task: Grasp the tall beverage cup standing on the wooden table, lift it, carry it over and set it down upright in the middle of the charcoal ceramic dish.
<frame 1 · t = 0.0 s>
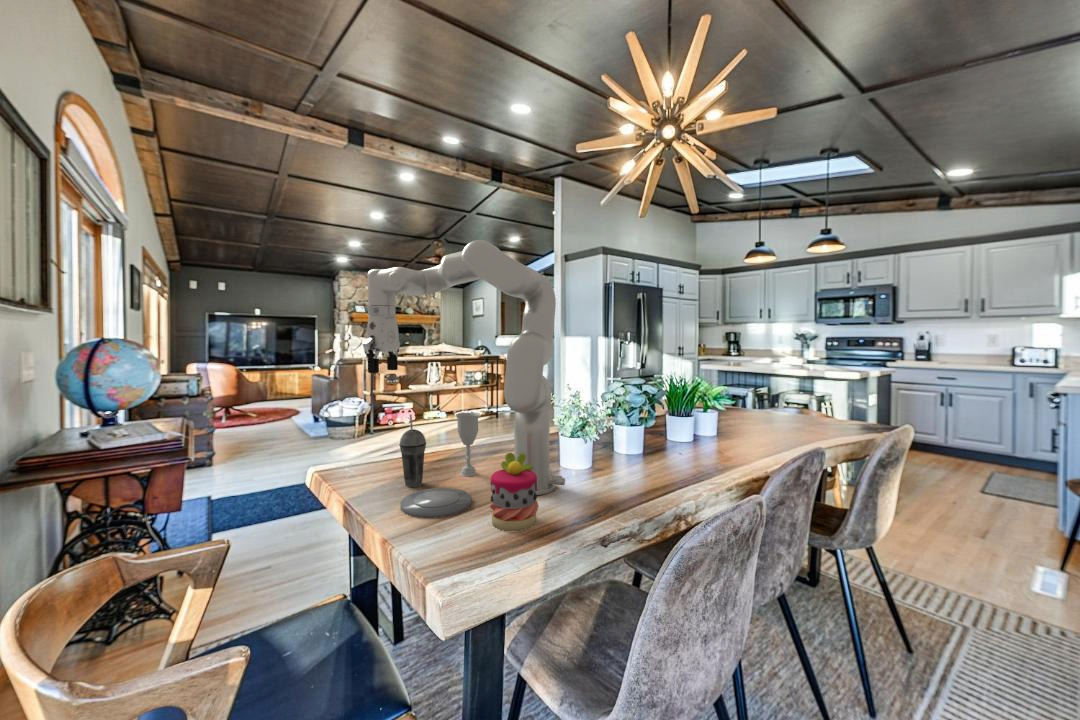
hand: (383, 371, 135), 31 cm above the table, tool pointing down, fingers open, 9 cm apart
dish: (436, 504, 115), on the table
beverage cup: (413, 485, 130), on the table
chalice: (468, 474, 139), on the table
cake: (514, 523, 104), on the table
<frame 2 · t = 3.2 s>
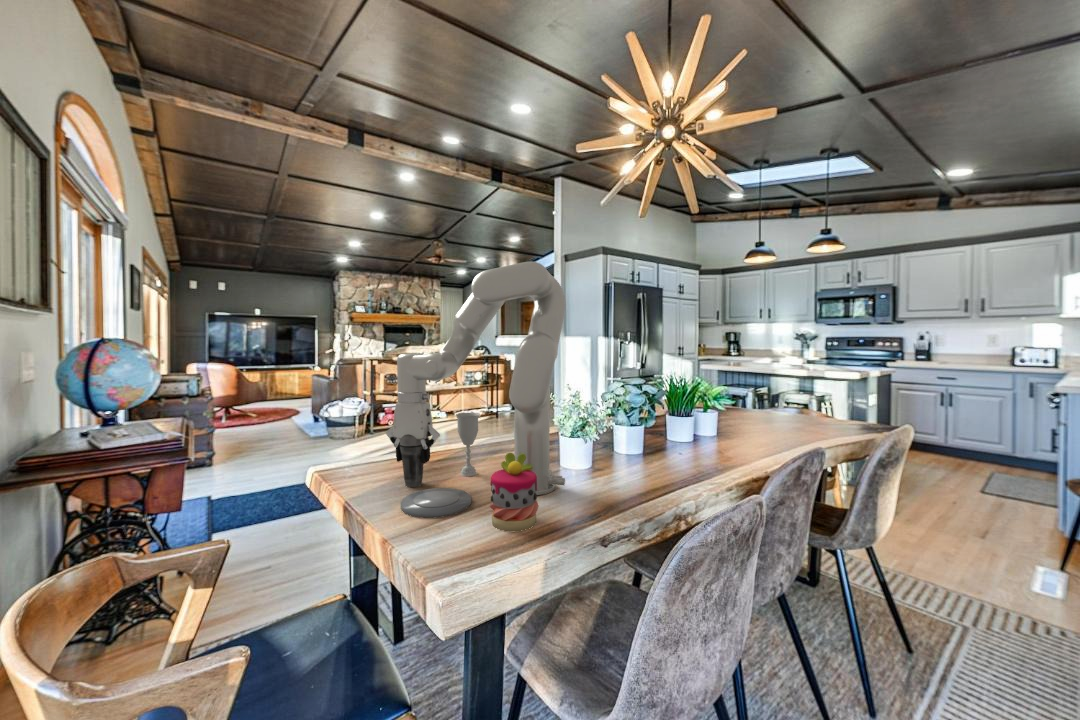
hand: (413, 460, 129), 7 cm above the table, tool pointing down, fingers closed on beverage cup, 7 cm apart
beverage cup: (413, 485, 130), on the table, touching gripper
everything else where it was.
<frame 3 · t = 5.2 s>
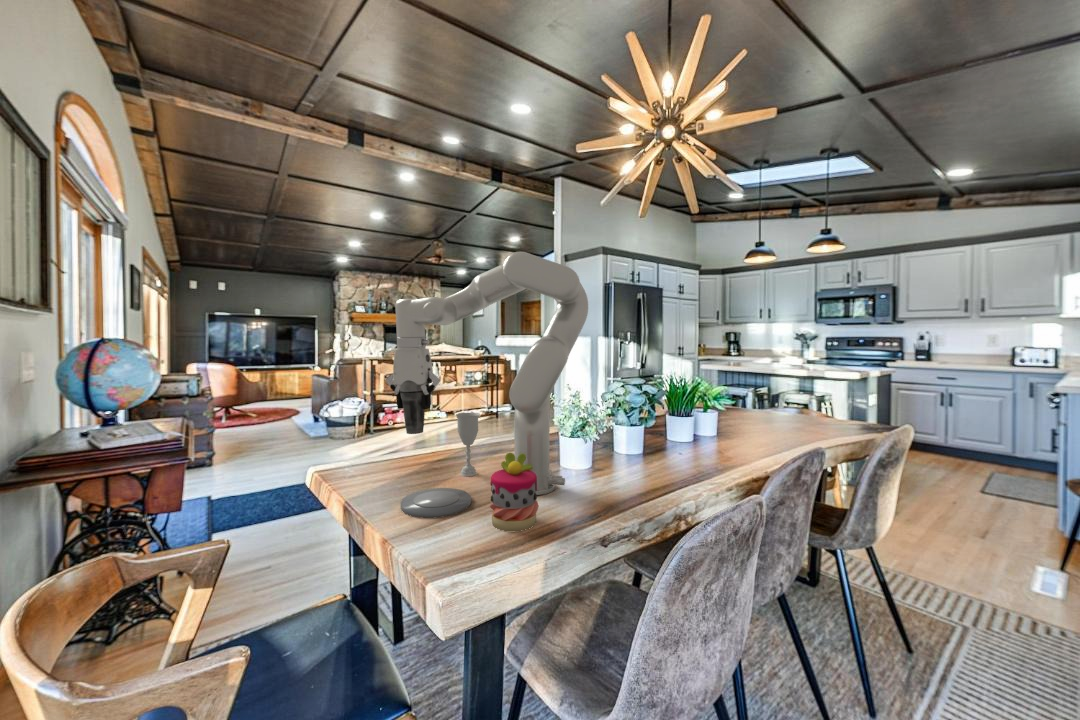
hand: (414, 407, 128), 22 cm above the table, tool pointing down, fingers closed on beverage cup, 7 cm apart
beverage cup: (415, 433, 129), point 15 cm above the table, touching gripper
everything else where it was.
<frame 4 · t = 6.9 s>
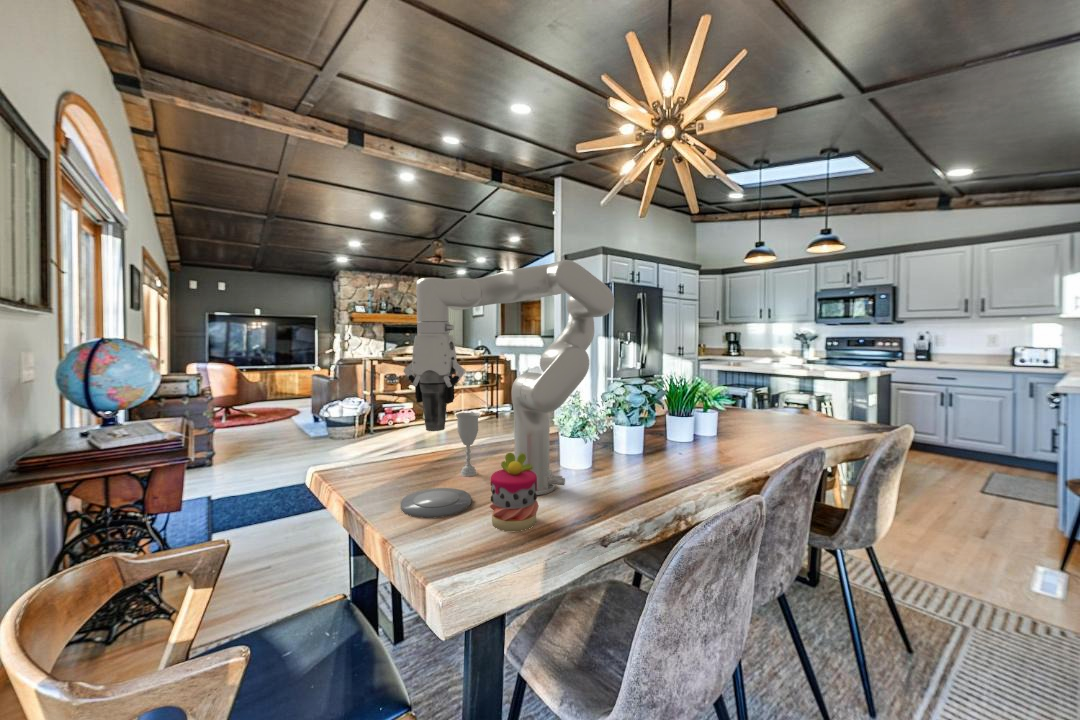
hand: (434, 401, 114), 26 cm above the table, tool pointing down, fingers closed on beverage cup, 7 cm apart
beverage cup: (435, 430, 114), point 19 cm above the table, touching gripper
everything else where it was.
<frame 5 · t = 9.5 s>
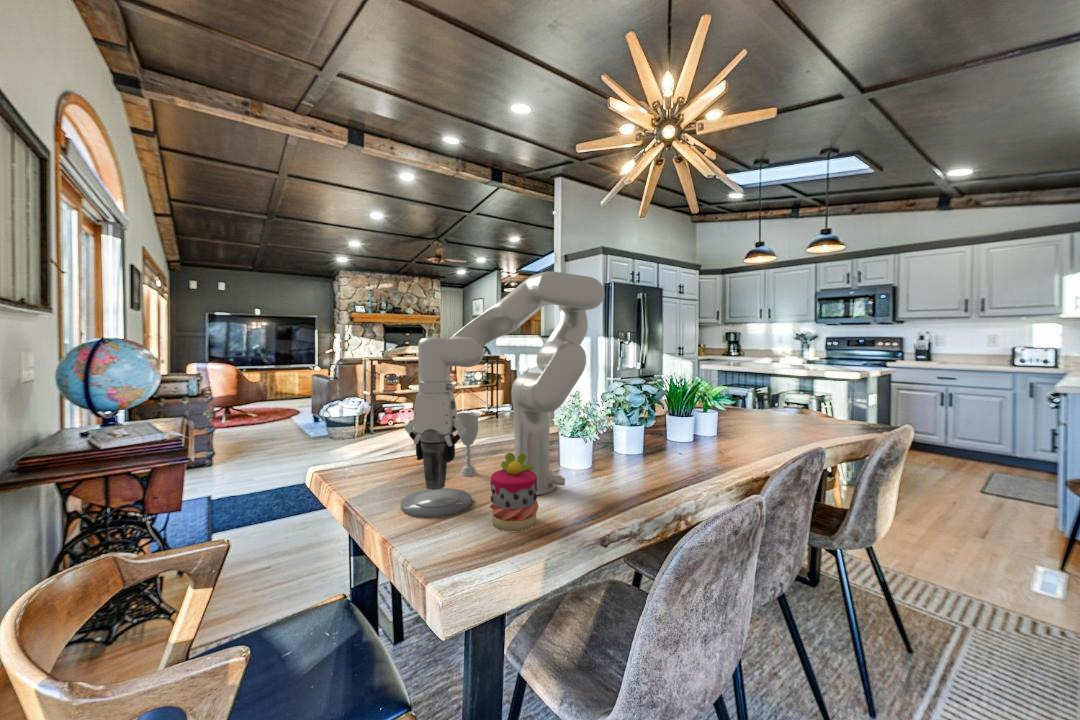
hand: (435, 459, 114), 11 cm above the table, tool pointing down, fingers closed on beverage cup, 7 cm apart
beverage cup: (435, 487, 114), point 4 cm above the table, touching gripper
everything else where it was.
when the fingers open (10 cm above the table, at t = 10.6 s): beverage cup drops 1 cm, resting on dish.
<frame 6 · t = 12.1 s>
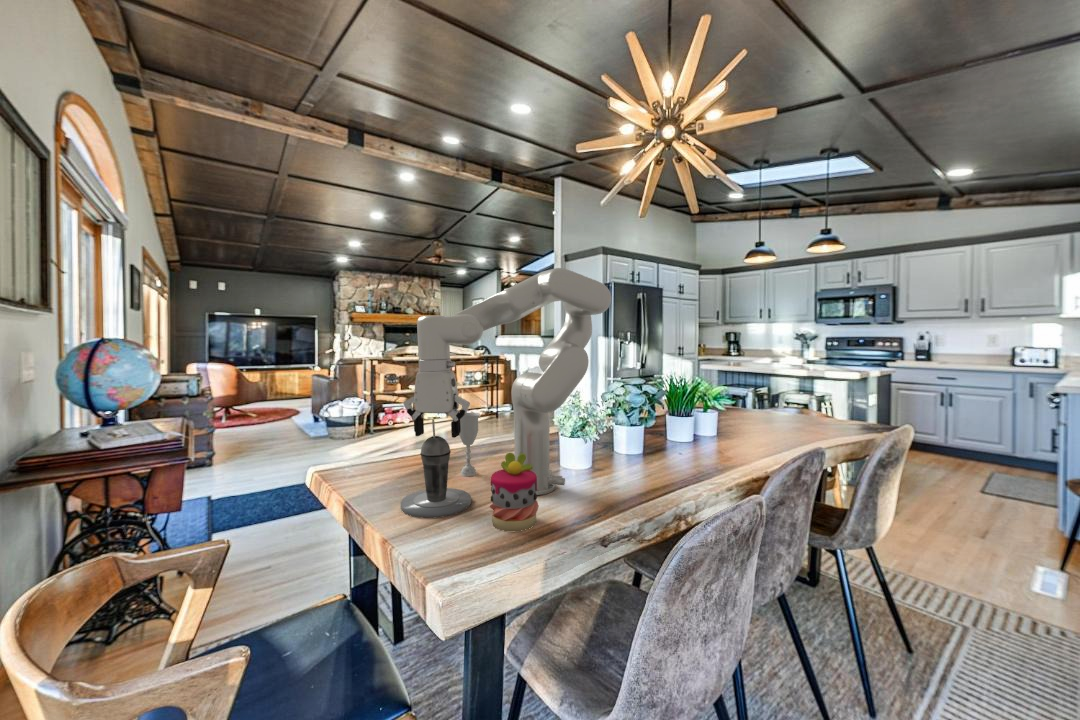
hand: (437, 435, 114), 17 cm above the table, tool pointing down, fingers open, 9 cm apart
beverage cup: (436, 499, 114), point 1 cm above the table, touching dish
everything else where it was.
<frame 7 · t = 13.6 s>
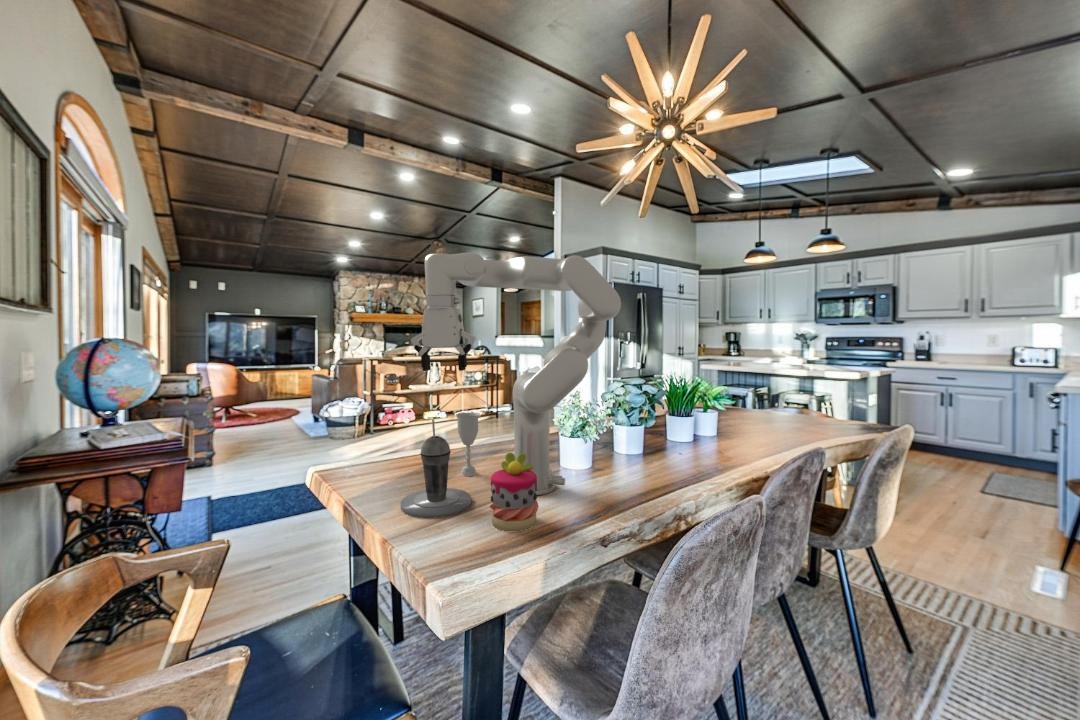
hand: (444, 370, 119), 33 cm above the table, tool pointing down, fingers open, 9 cm apart
nothing on the table moved.
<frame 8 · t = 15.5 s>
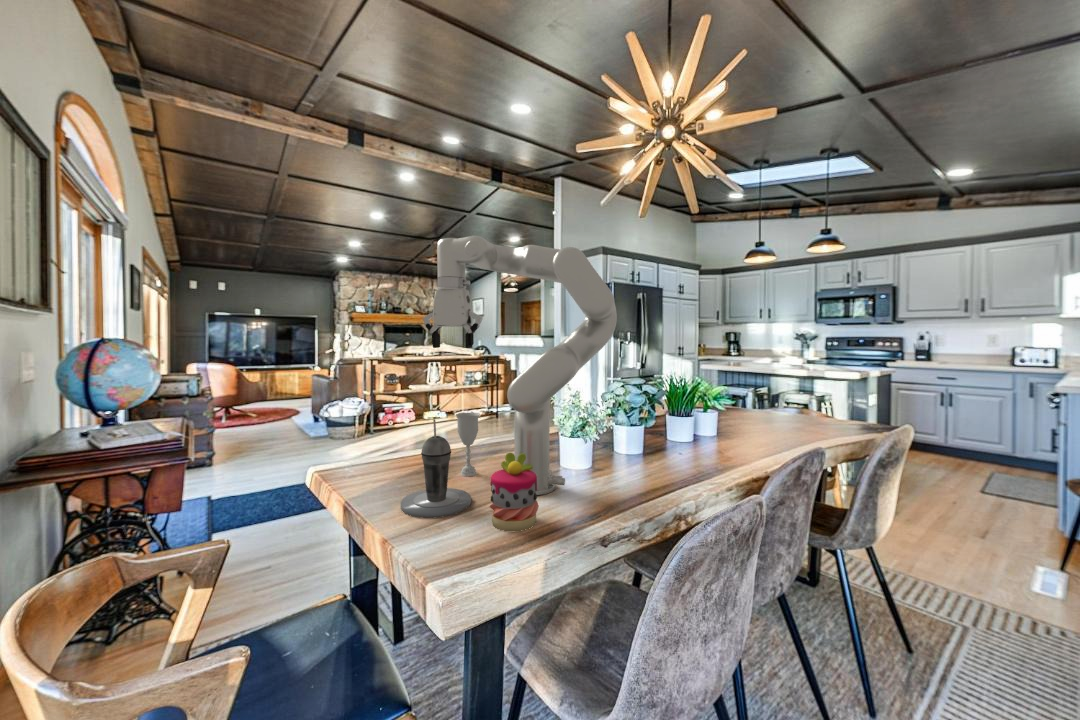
hand: (452, 347, 127), 38 cm above the table, tool pointing down, fingers open, 9 cm apart
nothing on the table moved.
at the end: beverage cup inside the target area on the dish (0.4 cm from its centre), point 1.3 cm above the dish's base; beverage cup tilted 0°; the gripper is holding nothing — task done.
